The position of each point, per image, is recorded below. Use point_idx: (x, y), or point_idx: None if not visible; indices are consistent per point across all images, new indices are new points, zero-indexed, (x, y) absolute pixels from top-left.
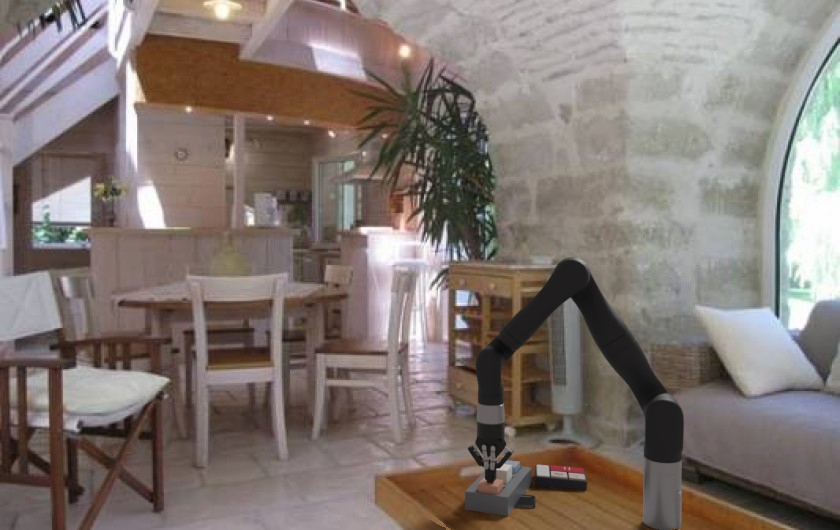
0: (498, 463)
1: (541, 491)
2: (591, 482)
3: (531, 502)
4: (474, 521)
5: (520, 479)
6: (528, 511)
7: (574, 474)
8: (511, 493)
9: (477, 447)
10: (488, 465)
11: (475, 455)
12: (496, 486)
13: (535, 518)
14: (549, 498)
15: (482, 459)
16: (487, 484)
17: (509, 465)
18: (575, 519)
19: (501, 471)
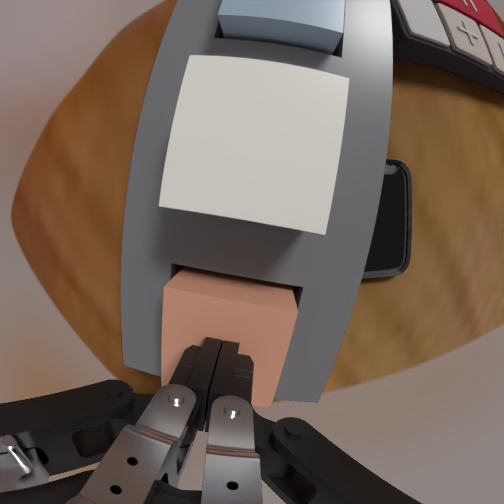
0: (273, 488)
1: (414, 91)
2: None
3: (397, 235)
4: None
5: (379, 141)
6: (379, 303)
7: (495, 42)
8: (335, 357)
9: (23, 477)
10: (189, 451)
11: (65, 465)
12: (263, 405)
13: (393, 350)
14: (445, 160)
15: (108, 416)
16: None
17: (330, 89)
18: (480, 321)
19: (278, 225)
